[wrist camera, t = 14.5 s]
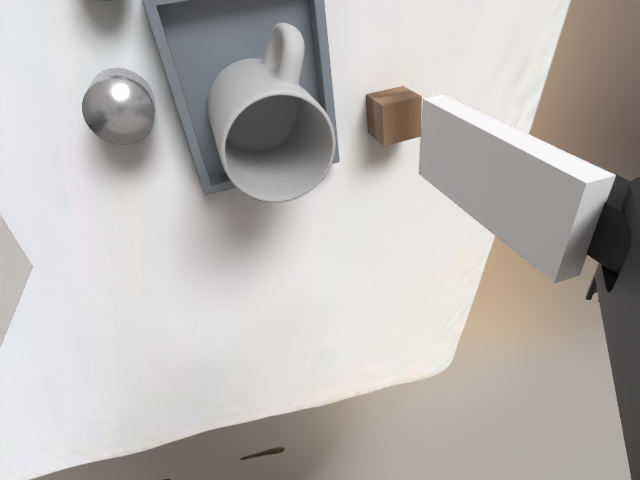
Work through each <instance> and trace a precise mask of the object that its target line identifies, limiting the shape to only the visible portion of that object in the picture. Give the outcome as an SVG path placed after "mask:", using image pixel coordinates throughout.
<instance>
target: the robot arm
mask: <svg viewBox="0 0 640 480" xmlns="http://www.w3.org/2000/svg"><path fill="white" fill-rule="evenodd" d="M419 174H420V175H421V176H422V177H423V178H425V179H426V180H427V181H428V182H430V183H431V184H432V185H433V186H435V187H436V188H437V189H438V190H439V191H441V192H442V193H443V194H444V195H446V196H447V197H448V198H449V199H451V200H452V201H453V202H454V203H456V204H457V205H458V206H459V207H460V208H462V209H463V210H464V211H465V212H467V213H468V214H469V215H470V216H472V217H473V218H474V219H475V220H477V221H478V222H479V223H480V224H481V225H483V226H484V227H485V228H486V229H488V230H489V231H490V232H491V233H493V234H494V235H495V236H496V237H498V238H499V239H500V240H501V241H502V242H504V243H505V244H506V245H508V246H509V247H510V248H511V249H512V250H514V251H515V252H516V253H517V254H519V255H520V256H521V257H522V258H524V259H525V260H526V261H527V262H528V263H530V264H531V265H532V266H533V267H535V268H536V269H537V270H538V271H540V272H541V273H542V274H543V275H545V276H546V277H547V278H548V279H549V280H551V281H552V282H553V283H557V282H560V281H563V280H566V279H569V278H572V277H575V276H578V275H580V273H581V270H582V267H583V265H584V262H585V259H586V256H587V255H589V256H590V257H592V258H593V259H595V260H596V261H598V262H599V264H598V266H597V269H596V271H595V274H594V276H593V279H592V282H591V284H590V287H589V289H588V292H587V295H586V299H587V300H591V298H592V296H593V294H594V293H596V292H598V297H599V300H598V302H599V303H600V307H601V313H602V319H603V325H604V330H605V335H606V341H607V347H608V352H609V357H610V363H611V368H612V374H613V380H614V385H615V391H616V396H617V402H618V407H619V413H620V418H621V424H622V429H623V435H624V440H625V445H626V451H627V456H628V462H629V467H630V473H631V479H632V480H640V177H638V178H635V179H634V180H632V181H629V180H627V179H624V178H622V177H620V176H618V175H616V174H614V173H611V172H609V171H607V170H605V169H603V168H601V167H599V166H597V165H594V164H592V163H590V162H586V160H584V159H581V158H579V157H577V156H574V155H573V154H571V153H569V152H566V151H564V150H562V149H560V148H558V147H554V146H552V145H550V144H548V143H546V142H543V141H542V140H539V139H537V138H535V137H533V136H531V135H529V134H527V133H524V132H522V131H520V130H518V129H516V128H514V127H512V126H509V125H507V124H505V123H503V122H501V121H499V120H497V119H494V118H492V117H490V116H488V115H486V114H484V113H482V112H479V111H477V110H475V109H473V108H471V107H469V106H467V105H464V104H462V103H460V102H458V101H456V100H454V99H452V98H449V97H447V96H445V95H439V96H434V97H429V98H424V99H423V108H422V125H421V142H420V159H419ZM32 267H33V266H32V264H31V263H30V261H29V260H28V258H27V256H26V255H25V253H24V252H23V250H22V248H21V247H20V245H19V244H18V242H17V240H16V239H15V237H14V236H13V234H12V232H11V231H10V229H9V228H8V226H7V224H6V223H5V221H4V220H3V218H2V217H1V215H0V347H1V345H2V342H3V340H4V337H5V335H6V332H7V330H8V327H9V325H10V322H11V320H12V317H13V315H14V312H15V310H16V307H17V305H18V302H19V300H20V297H21V295H22V292H23V290H24V287H25V285H26V282H27V280H28V277H29V275H30V272H31V270H32Z"/></svg>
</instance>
